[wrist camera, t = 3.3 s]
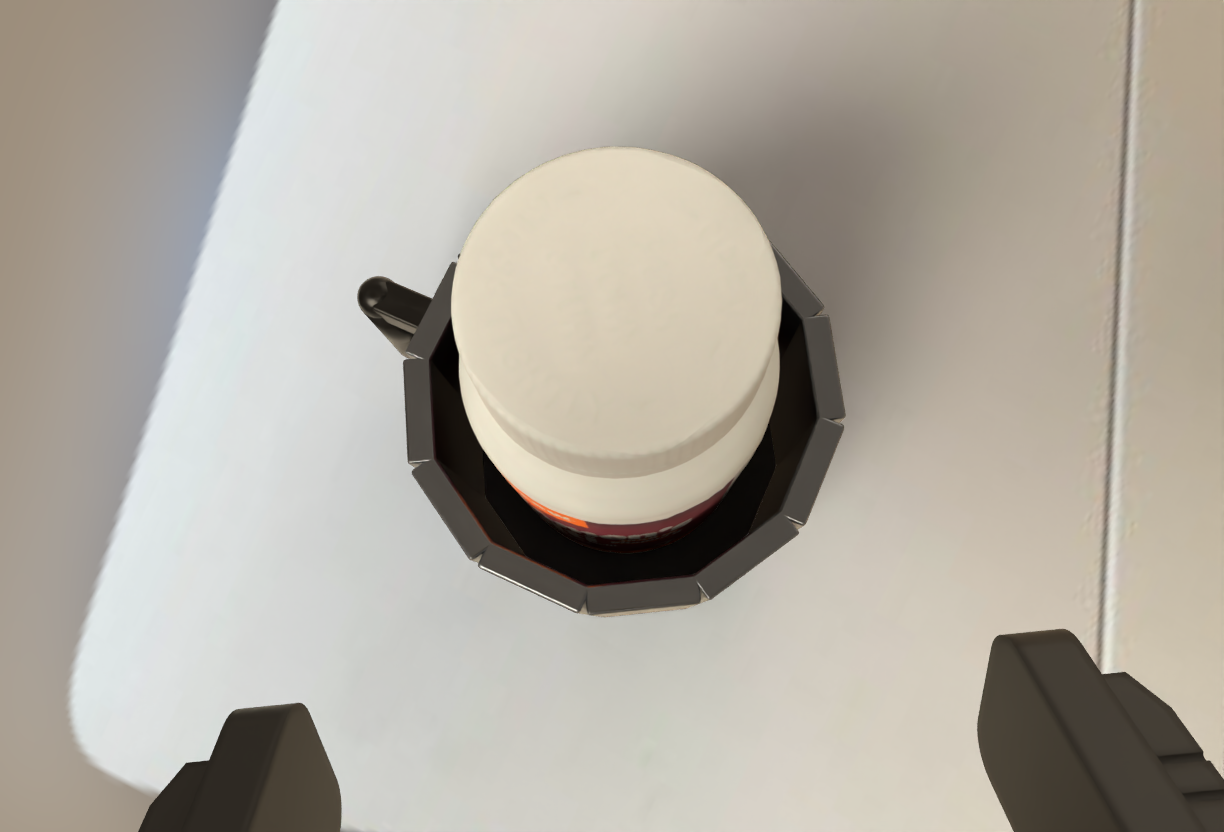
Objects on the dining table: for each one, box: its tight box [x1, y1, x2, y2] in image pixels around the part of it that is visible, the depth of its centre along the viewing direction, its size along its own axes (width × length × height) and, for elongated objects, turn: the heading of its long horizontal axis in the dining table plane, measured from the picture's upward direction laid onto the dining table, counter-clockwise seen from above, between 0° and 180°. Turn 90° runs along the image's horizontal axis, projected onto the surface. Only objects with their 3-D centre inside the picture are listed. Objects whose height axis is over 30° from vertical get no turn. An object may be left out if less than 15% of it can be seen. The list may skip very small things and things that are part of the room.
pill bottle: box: [451, 147, 782, 554], centre depth 19 cm, size 6×6×11 cm
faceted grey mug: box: [357, 239, 846, 617], centre depth 22 cm, size 11×9×6 cm
